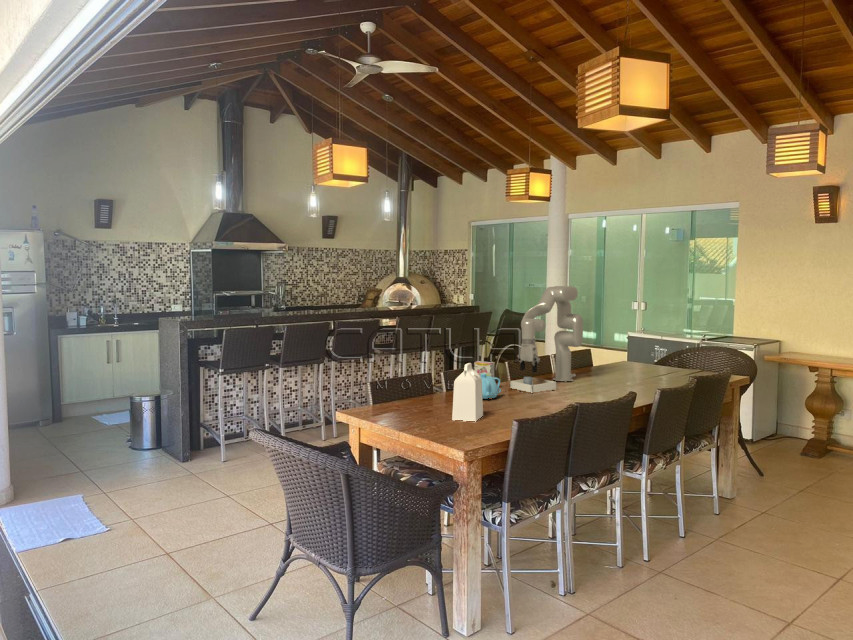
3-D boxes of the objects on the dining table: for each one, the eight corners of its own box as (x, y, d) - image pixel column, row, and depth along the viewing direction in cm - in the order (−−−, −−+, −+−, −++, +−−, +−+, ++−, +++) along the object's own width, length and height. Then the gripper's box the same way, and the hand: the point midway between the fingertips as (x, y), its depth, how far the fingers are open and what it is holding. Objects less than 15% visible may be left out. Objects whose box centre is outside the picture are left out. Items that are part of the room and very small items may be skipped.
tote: (534, 385, 389) (534, 377, 389) (556, 390, 375) (556, 381, 374) (509, 389, 378) (510, 381, 377) (531, 394, 363) (532, 385, 363)
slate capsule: (527, 388, 377) (528, 376, 376) (534, 389, 373) (534, 377, 372) (521, 389, 374) (521, 377, 373) (527, 390, 370) (527, 378, 369)
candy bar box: (473, 389, 377) (473, 361, 376) (477, 388, 382) (477, 360, 380) (490, 391, 372) (491, 363, 370) (494, 390, 376) (494, 362, 374)
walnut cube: (538, 386, 382) (538, 378, 382) (544, 387, 378) (544, 379, 378) (532, 387, 379) (532, 378, 379) (538, 388, 375) (538, 380, 375)
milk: (460, 414, 313) (460, 361, 311) (483, 416, 309) (483, 362, 307) (452, 420, 302) (452, 365, 300) (475, 422, 298) (475, 366, 296)
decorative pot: (486, 402, 341) (486, 377, 340) (462, 398, 352) (462, 373, 351) (503, 398, 354) (504, 373, 352) (480, 394, 364) (480, 370, 363)
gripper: (543, 342, 367) (544, 372, 368) (522, 339, 381) (522, 368, 382) (534, 343, 362) (534, 374, 364) (513, 340, 376) (513, 369, 378)
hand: (528, 371), depth 373 cm, fingers open, 9 cm apart
